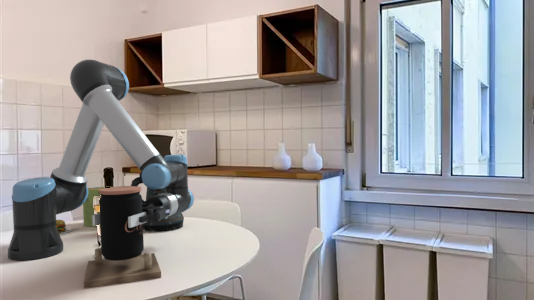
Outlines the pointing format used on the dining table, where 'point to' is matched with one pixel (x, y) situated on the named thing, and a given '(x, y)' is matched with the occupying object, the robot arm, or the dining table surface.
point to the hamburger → (61, 226)
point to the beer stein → (164, 224)
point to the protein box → (90, 206)
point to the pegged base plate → (120, 270)
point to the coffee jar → (120, 222)
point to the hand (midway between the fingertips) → (111, 221)
